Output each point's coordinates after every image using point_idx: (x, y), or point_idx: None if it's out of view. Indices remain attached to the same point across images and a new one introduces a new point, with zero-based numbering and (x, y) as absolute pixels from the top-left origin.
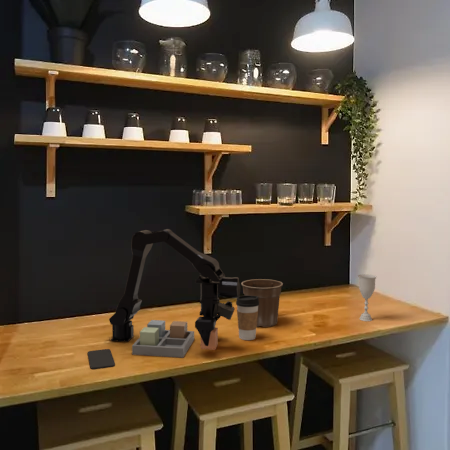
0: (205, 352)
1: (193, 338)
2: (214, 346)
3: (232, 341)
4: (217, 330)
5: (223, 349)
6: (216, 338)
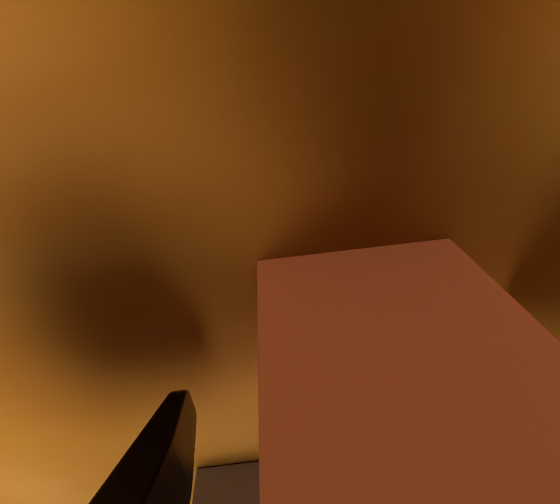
0: (534, 309)
1: (229, 487)
2: (469, 270)
3: (31, 69)
4: (297, 464)
5: (443, 133)
6: (401, 330)
